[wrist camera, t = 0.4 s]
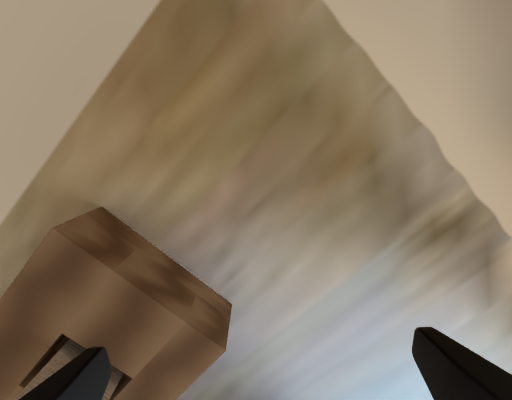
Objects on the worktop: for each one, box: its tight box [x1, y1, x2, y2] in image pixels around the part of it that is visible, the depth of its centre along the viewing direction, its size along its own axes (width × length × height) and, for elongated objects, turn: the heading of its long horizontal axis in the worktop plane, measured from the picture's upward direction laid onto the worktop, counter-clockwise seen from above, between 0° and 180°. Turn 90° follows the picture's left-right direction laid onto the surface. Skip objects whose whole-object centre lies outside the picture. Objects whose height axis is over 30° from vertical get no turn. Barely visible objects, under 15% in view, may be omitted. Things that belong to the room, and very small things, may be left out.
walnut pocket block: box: [0, 207, 232, 400], centre depth 22 cm, size 15×20×6 cm
